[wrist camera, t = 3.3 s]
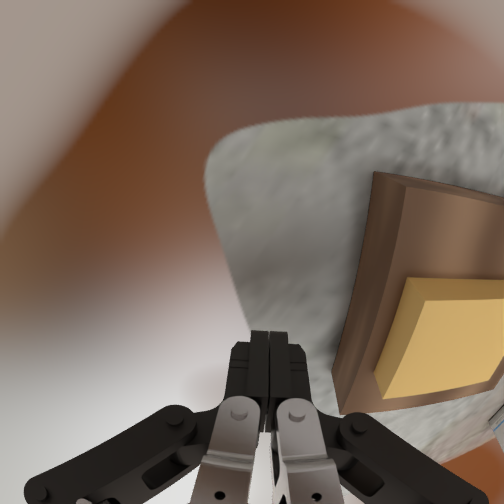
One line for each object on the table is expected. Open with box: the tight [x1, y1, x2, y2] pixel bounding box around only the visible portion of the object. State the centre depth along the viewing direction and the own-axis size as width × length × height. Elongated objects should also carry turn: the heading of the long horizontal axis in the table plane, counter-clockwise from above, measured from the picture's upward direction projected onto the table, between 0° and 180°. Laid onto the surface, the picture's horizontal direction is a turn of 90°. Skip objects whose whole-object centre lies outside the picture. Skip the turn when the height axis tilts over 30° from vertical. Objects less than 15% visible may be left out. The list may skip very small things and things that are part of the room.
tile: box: [374, 277, 504, 399], centre depth 12 cm, size 8×6×2 cm
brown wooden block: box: [331, 171, 504, 415], centre depth 15 cm, size 14×14×4 cm
